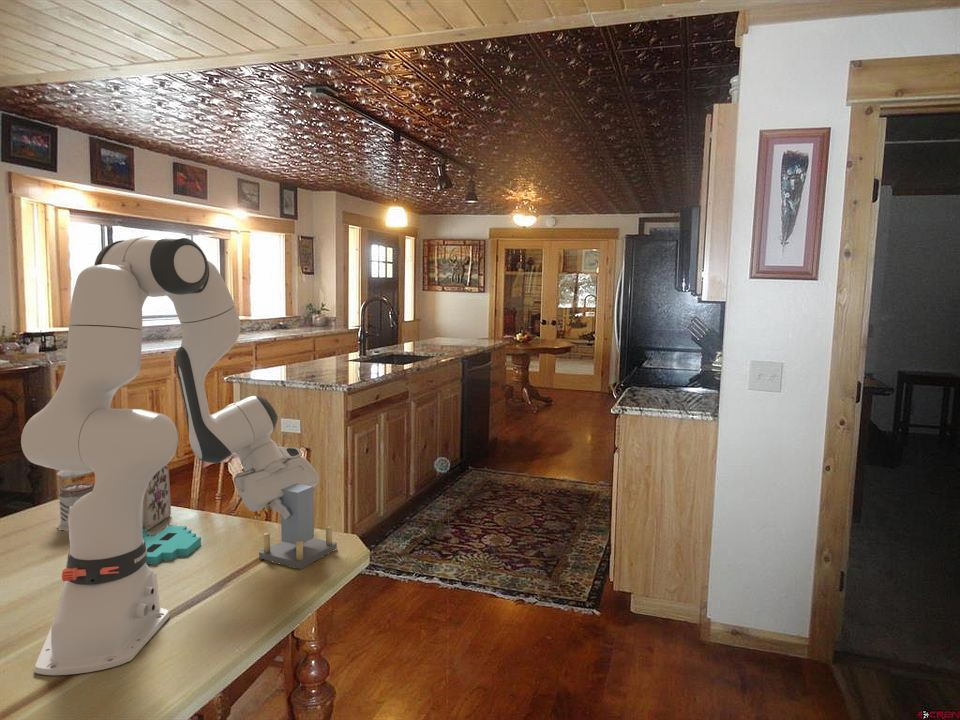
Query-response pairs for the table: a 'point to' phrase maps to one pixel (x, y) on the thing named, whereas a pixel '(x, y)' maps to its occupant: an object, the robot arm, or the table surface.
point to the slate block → (298, 514)
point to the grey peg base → (297, 550)
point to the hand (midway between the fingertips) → (299, 512)
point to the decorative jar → (156, 500)
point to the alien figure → (170, 544)
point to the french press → (76, 491)
